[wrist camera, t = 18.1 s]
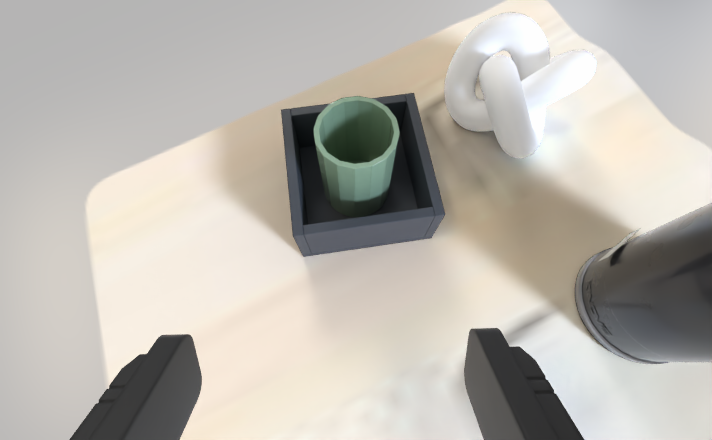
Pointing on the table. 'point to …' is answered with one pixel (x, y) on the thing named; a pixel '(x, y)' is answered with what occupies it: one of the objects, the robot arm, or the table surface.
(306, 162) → the tub
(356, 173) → the cup
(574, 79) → the white knot sculpture
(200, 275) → the table surface
